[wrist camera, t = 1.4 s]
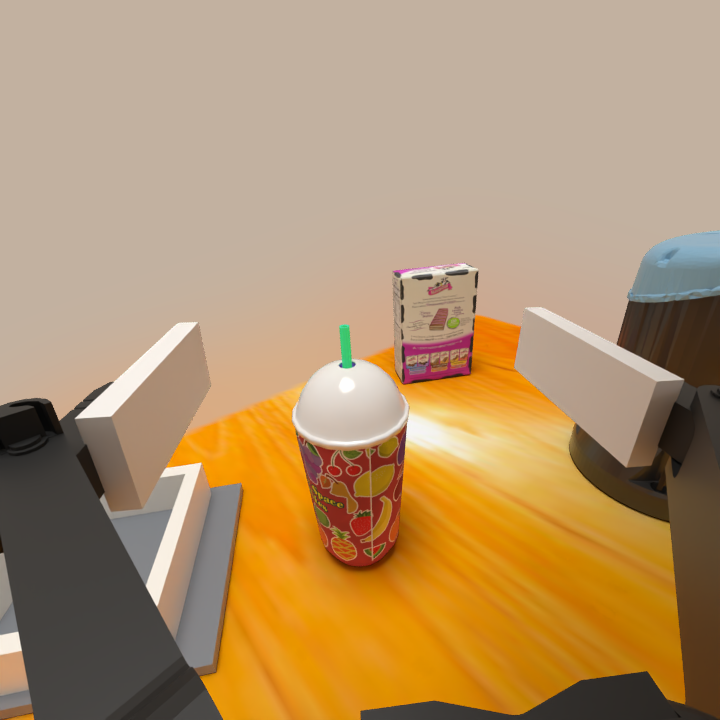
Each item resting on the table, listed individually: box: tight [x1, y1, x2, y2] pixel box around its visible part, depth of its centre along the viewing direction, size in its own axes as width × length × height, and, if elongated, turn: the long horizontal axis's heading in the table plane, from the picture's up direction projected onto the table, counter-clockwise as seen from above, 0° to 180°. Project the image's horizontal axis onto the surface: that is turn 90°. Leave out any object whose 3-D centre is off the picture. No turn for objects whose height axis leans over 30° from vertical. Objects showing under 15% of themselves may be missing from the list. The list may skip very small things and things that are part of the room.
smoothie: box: [292, 325, 409, 567], centre depth 28 cm, size 8×8×20 cm
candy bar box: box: [393, 263, 478, 384], centre depth 55 cm, size 11×5×16 cm, turn 101°
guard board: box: [0, 463, 243, 720], centre depth 29 cm, size 20×16×5 cm
